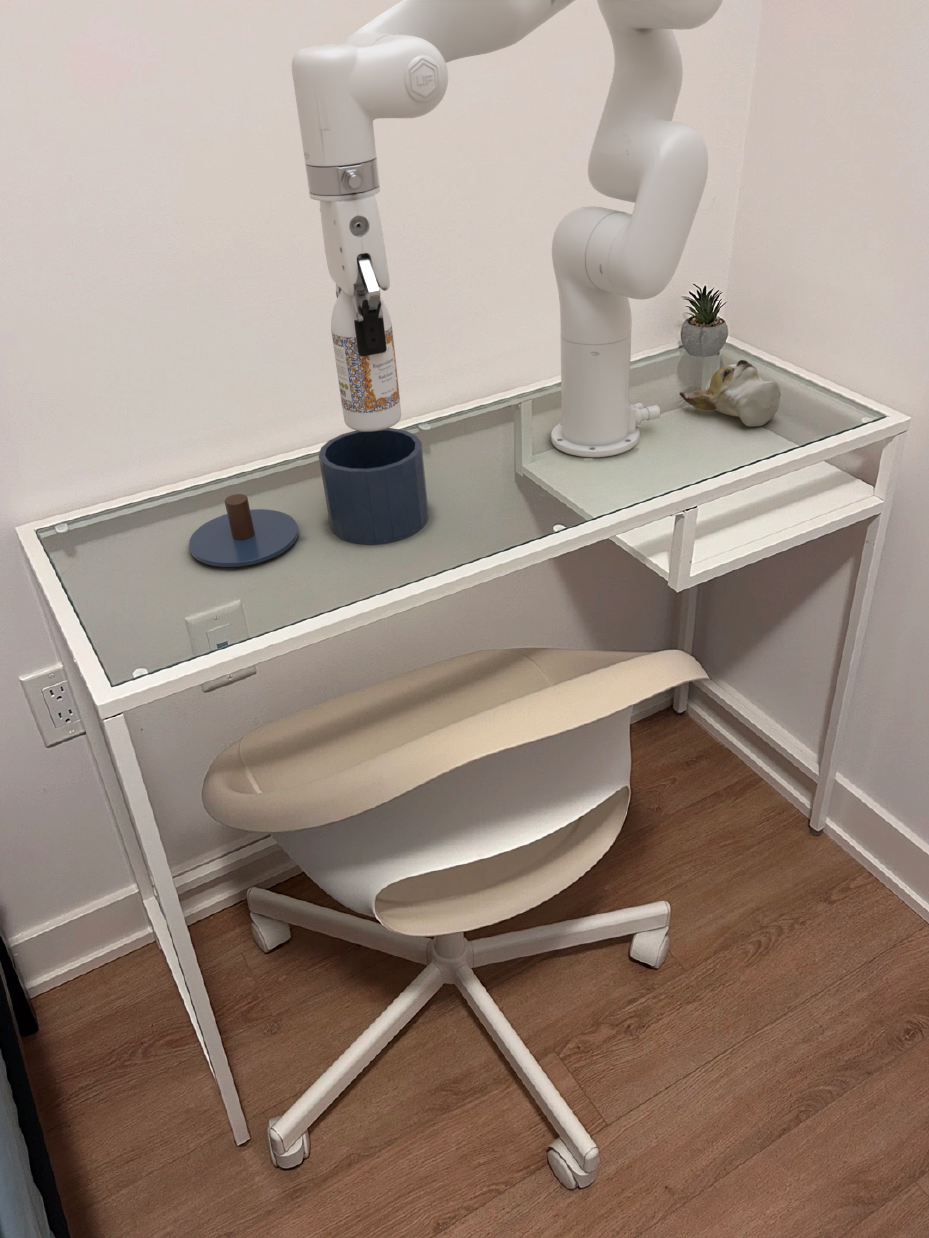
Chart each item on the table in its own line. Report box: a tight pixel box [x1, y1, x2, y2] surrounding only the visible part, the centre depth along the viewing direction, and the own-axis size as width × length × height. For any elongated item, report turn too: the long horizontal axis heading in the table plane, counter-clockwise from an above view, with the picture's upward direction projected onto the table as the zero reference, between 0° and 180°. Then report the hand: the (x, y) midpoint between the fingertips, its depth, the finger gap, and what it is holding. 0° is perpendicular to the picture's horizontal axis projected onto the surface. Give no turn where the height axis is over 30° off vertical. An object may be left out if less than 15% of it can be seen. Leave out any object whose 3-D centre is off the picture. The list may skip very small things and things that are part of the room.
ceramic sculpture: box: [679, 359, 782, 427], centre depth 147 cm, size 11×9×15 cm
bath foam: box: [330, 270, 402, 432], centre depth 116 cm, size 7×7×20 cm
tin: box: [318, 427, 429, 546], centre depth 126 cm, size 13×13×10 cm
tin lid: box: [188, 493, 299, 568], centre depth 125 cm, size 14×14×6 cm
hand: (363, 342), depth 116 cm, fingers closed on bath foam, 7 cm apart
